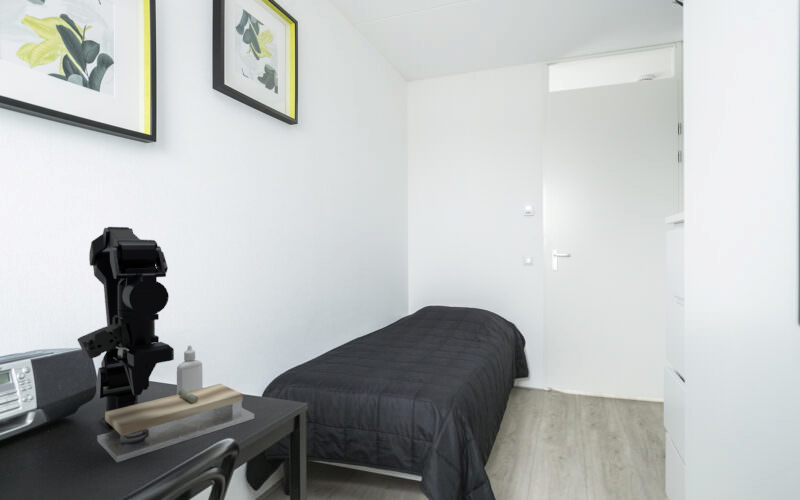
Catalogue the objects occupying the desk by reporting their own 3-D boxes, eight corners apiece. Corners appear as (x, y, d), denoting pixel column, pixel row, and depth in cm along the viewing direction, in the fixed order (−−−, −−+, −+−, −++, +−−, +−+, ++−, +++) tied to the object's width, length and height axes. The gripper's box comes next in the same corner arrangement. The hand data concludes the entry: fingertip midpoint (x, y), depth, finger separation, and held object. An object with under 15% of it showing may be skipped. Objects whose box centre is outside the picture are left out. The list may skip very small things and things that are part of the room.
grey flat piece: (97, 441, 81) (97, 420, 81) (227, 404, 99) (227, 388, 99) (116, 462, 73) (116, 439, 73) (254, 418, 91) (254, 400, 91)
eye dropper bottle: (202, 396, 105) (202, 346, 105) (176, 399, 103) (176, 349, 103) (202, 390, 109) (202, 343, 109) (177, 394, 107) (177, 345, 107)
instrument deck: (105, 420, 81) (104, 404, 81) (220, 390, 97) (220, 377, 97) (121, 435, 74) (121, 418, 74) (242, 400, 90) (242, 387, 90)
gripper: (69, 309, 79) (70, 394, 79) (98, 320, 67) (98, 421, 67) (138, 303, 87) (138, 380, 87) (174, 312, 75) (175, 402, 75)
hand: (137, 394), depth 79 cm, fingers closed
